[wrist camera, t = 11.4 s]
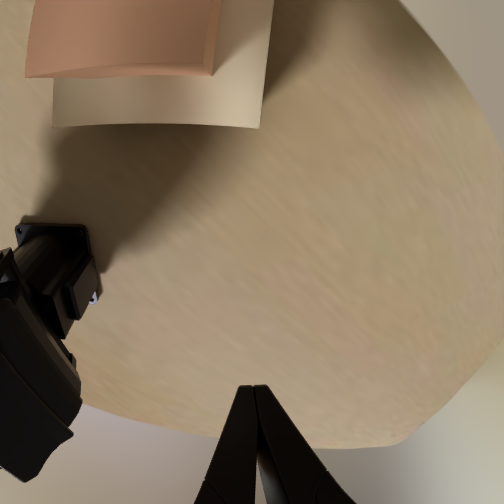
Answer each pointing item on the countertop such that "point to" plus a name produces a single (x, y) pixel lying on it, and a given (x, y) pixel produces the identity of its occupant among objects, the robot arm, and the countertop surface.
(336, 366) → the countertop surface
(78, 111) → the beige stepped block
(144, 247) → the countertop surface
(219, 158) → the countertop surface
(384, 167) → the countertop surface
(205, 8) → the brick
